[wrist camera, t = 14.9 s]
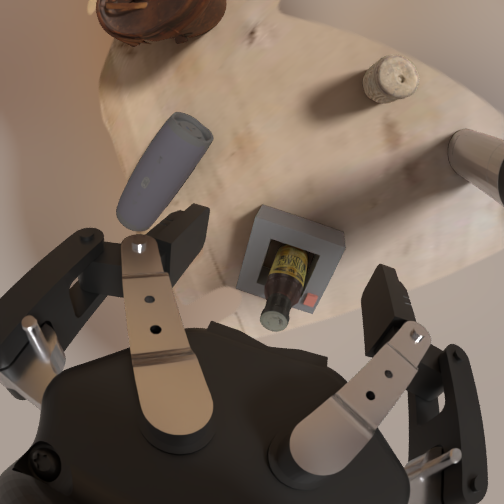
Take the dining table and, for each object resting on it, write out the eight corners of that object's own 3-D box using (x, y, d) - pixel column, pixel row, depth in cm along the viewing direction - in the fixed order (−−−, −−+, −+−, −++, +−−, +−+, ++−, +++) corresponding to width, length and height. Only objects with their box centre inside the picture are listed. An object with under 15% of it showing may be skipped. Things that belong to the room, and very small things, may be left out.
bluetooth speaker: (187, 108, 45) (159, 111, 37) (224, 138, 47) (202, 147, 39) (132, 193, 57) (104, 210, 49) (162, 220, 59) (137, 241, 50)
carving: (404, 76, 34) (430, 69, 24) (386, 111, 38) (407, 114, 28) (372, 56, 34) (388, 42, 24) (353, 91, 38) (365, 87, 28)
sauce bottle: (314, 247, 54) (307, 317, 37) (300, 271, 57) (289, 344, 40) (283, 233, 54) (263, 299, 37) (271, 259, 57) (248, 328, 40)
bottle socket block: (343, 232, 51) (346, 250, 45) (314, 295, 59) (312, 316, 54) (262, 204, 52) (254, 218, 46) (243, 271, 60) (234, 290, 55)
